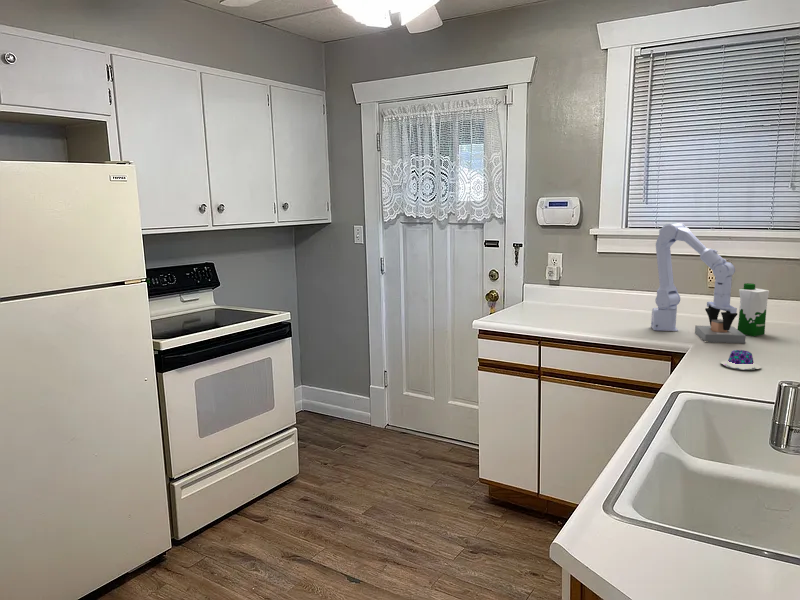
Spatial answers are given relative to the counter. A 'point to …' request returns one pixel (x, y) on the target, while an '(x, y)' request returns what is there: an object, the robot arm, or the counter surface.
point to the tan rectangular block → (717, 326)
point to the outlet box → (720, 335)
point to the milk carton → (752, 310)
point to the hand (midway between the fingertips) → (719, 327)
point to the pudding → (741, 357)
